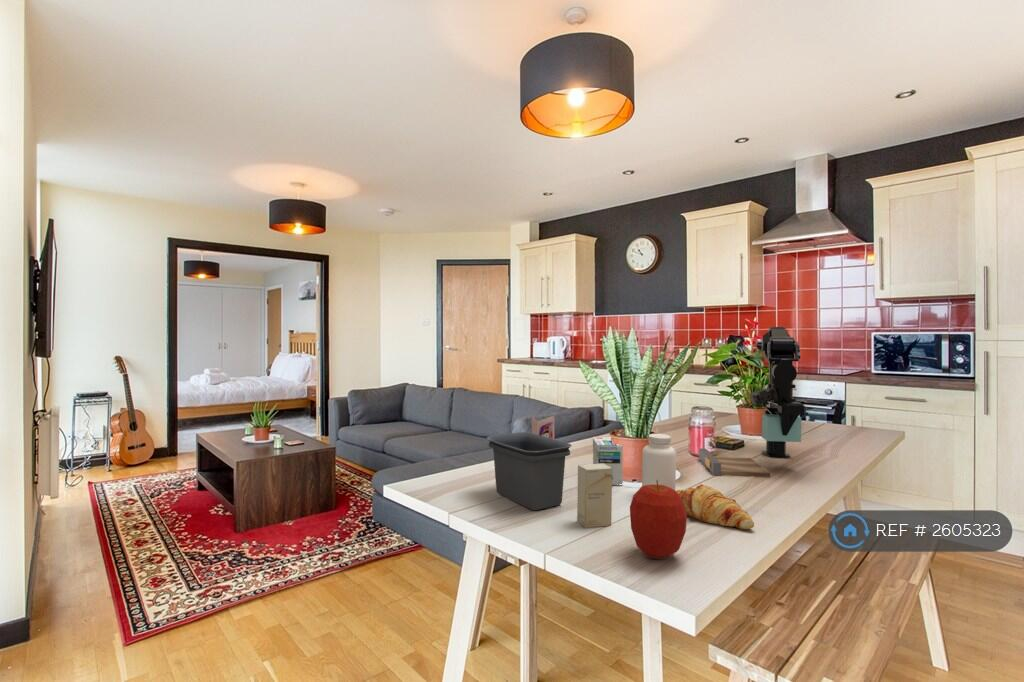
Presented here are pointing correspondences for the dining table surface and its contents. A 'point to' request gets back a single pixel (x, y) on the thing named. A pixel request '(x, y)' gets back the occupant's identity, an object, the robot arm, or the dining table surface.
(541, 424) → the pink printed box
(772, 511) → the dining table surface
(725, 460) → the shelf board
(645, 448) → the pill bottle
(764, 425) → the teal carton
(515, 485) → the storage bin
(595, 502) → the skincare box
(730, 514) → the croissant
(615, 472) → the light bulb box
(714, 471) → the price rail
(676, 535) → the apple
